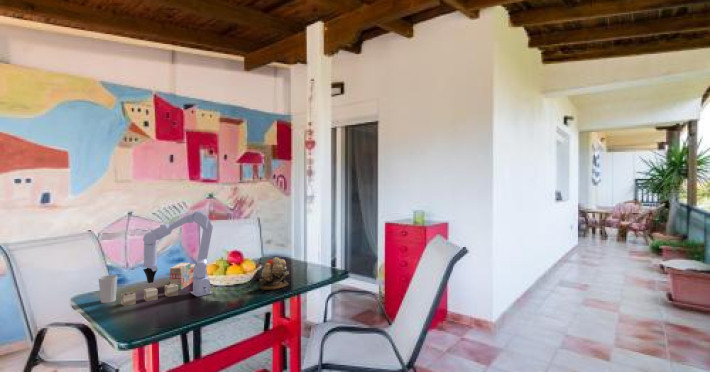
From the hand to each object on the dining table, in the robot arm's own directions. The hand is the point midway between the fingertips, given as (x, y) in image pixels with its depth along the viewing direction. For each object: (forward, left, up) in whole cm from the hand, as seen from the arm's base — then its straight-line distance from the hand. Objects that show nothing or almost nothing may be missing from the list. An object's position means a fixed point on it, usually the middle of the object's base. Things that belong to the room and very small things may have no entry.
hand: (150, 282), depth 189 cm
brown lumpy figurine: (-26, -57, -9) cm, 63 cm away
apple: (-8, -67, -9) cm, 68 cm away
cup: (+12, +16, -9) cm, 22 cm away
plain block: (0, 0, -9) cm, 9 cm away
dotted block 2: (0, -10, -9) cm, 13 cm away
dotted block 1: (0, +10, -9) cm, 13 cm away
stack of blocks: (+15, -22, -9) cm, 28 cm away
